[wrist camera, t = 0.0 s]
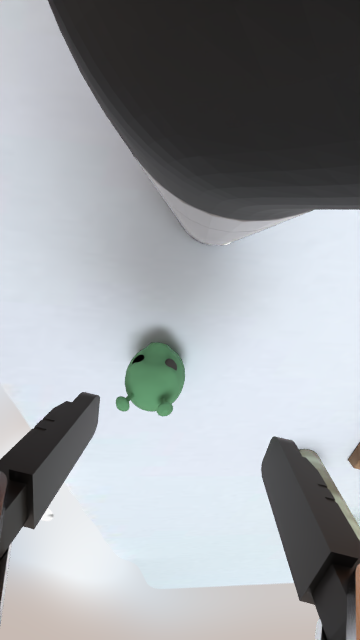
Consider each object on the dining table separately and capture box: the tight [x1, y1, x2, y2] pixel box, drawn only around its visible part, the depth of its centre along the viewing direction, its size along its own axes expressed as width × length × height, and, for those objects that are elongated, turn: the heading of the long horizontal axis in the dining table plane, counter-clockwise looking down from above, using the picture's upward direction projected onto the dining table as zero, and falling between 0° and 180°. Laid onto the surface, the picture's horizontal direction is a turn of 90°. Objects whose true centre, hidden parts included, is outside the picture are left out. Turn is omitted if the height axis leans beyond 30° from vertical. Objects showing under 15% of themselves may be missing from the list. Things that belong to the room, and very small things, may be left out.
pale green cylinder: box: [299, 449, 360, 540], centre depth 25 cm, size 4×4×12 cm
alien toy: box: [116, 343, 185, 416], centre depth 23 cm, size 7×8×10 cm
